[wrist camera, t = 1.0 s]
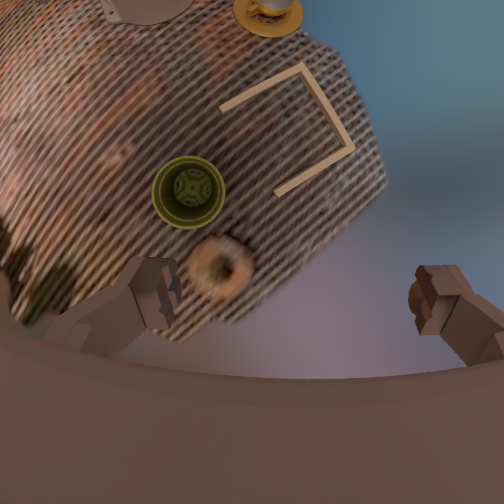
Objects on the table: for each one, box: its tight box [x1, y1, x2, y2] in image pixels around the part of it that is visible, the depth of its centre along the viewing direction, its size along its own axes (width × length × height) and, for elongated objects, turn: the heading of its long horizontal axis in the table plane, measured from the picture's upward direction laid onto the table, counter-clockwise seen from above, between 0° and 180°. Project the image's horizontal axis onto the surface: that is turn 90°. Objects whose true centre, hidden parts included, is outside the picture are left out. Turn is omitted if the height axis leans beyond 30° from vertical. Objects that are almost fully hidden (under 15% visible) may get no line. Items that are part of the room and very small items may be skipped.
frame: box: [219, 62, 356, 197], centre depth 43 cm, size 16×15×2 cm
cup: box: [233, 0, 304, 37], centre depth 36 cm, size 12×12×5 cm
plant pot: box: [152, 156, 225, 229], centre depth 41 cm, size 9×9×9 cm
